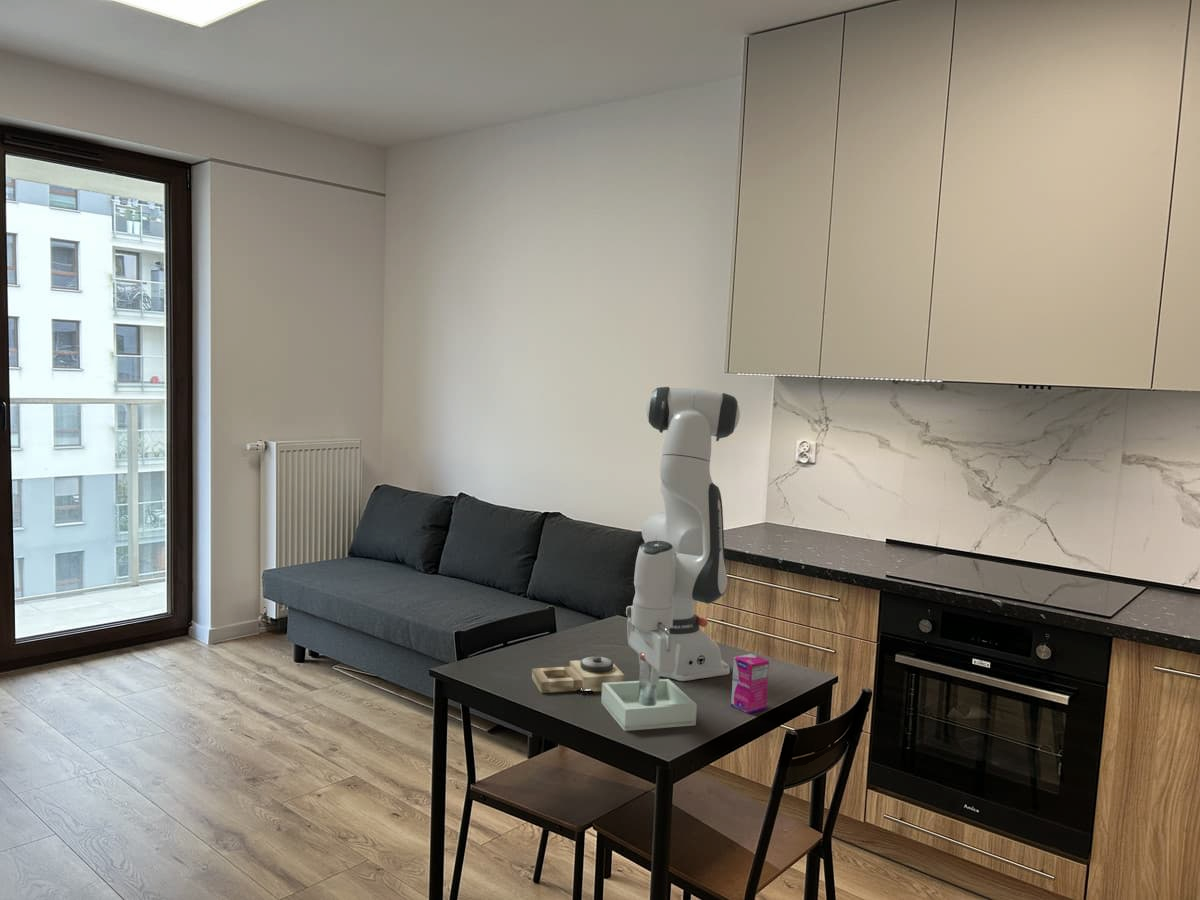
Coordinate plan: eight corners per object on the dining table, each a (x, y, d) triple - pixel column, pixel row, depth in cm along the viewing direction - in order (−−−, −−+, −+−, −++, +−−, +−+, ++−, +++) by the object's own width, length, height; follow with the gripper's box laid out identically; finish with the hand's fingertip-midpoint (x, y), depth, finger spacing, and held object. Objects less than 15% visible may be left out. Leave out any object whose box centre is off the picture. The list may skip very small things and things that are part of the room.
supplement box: (729, 706, 197) (732, 656, 196) (748, 701, 200) (751, 652, 200) (748, 714, 192) (751, 664, 191) (767, 709, 196) (770, 660, 195)
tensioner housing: (608, 672, 216) (609, 649, 215) (623, 689, 204) (625, 664, 204) (530, 677, 210) (531, 653, 209) (542, 694, 198) (543, 669, 198)
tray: (667, 698, 200) (668, 678, 200) (695, 725, 185) (696, 704, 185) (601, 702, 195) (602, 683, 195) (624, 730, 180) (625, 709, 180)
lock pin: (652, 698, 192) (655, 649, 192) (659, 705, 188) (662, 655, 188) (634, 699, 191) (637, 650, 190) (641, 706, 187) (644, 656, 186)
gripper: (685, 630, 179) (681, 695, 181) (649, 604, 199) (646, 663, 200) (656, 631, 178) (652, 697, 179) (623, 605, 197) (620, 665, 198)
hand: (649, 679), depth 189 cm, fingers closed on lock pin, 4 cm apart
